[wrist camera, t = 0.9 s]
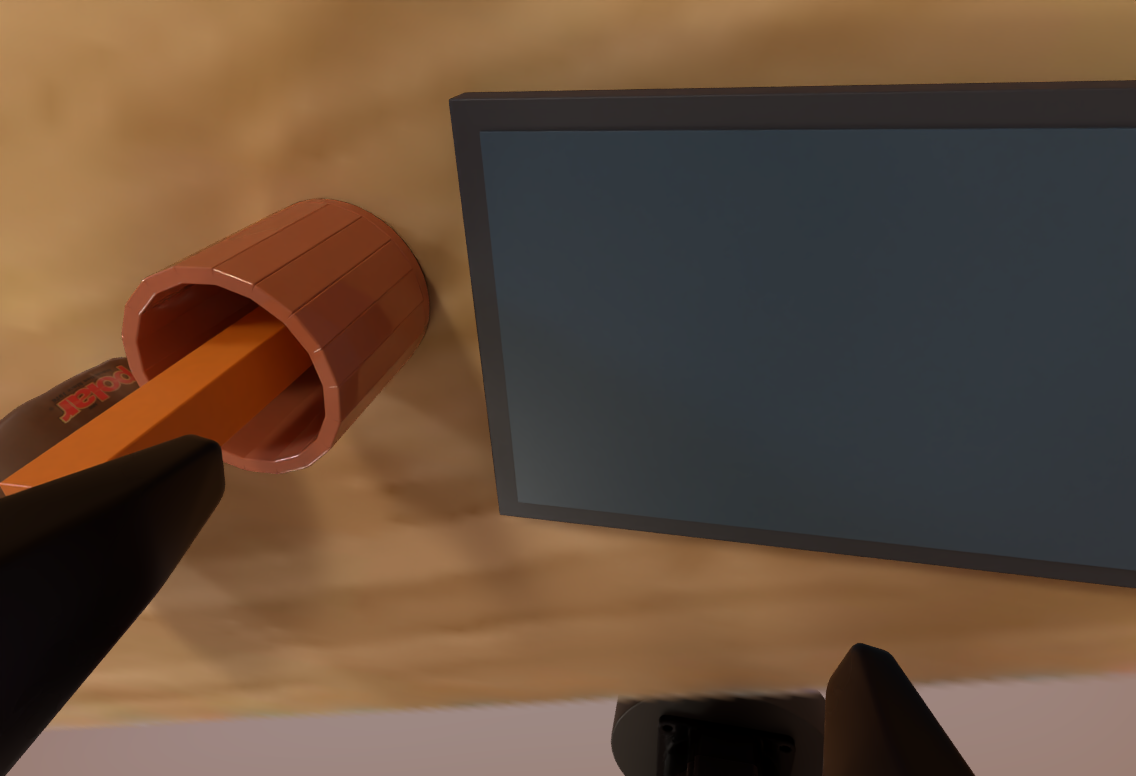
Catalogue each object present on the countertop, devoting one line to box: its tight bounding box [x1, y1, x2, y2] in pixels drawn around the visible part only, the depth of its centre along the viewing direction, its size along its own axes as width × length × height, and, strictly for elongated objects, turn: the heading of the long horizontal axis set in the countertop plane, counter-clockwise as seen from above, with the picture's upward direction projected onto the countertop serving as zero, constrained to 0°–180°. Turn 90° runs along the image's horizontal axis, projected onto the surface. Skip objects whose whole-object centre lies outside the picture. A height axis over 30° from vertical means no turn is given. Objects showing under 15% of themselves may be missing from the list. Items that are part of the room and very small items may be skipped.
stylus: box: [0, 306, 313, 496], centre depth 18 cm, size 2×2×11 cm
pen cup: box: [121, 199, 430, 474], centre depth 20 cm, size 6×6×6 cm
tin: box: [0, 357, 140, 498], centre depth 26 cm, size 15×3×8 cm, turn 146°
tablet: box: [449, 80, 1136, 588], centre depth 19 cm, size 14×22×1 cm, turn 93°
